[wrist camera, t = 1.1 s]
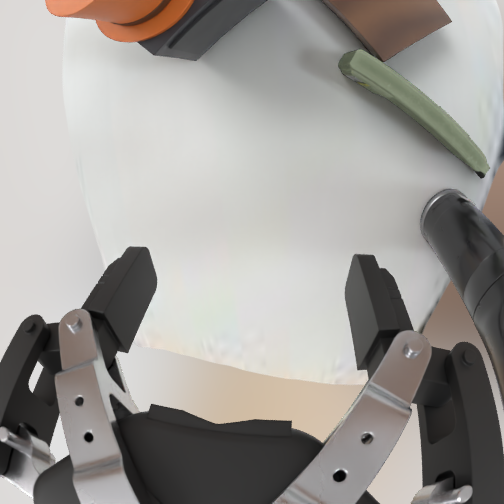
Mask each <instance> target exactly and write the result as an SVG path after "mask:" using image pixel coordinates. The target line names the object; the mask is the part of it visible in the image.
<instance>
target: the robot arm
mask: <svg viewBox="0 0 504 504" xmlns="http://www.w3.org/2000/svg"><path fill="white" fill-rule="evenodd" d="M471 202H472V201H471V200H470V199H468V198H467V197H466V196H465V195H464V194H463V193H461V192H460V191H458V190H454V189H448V190H444V191H442V192H440V193H438V194H436V195H435V196H434V197H433V198H432V199H431V200H430V201H429V202H428V203H427V205H426V207H425V208H424V211H423V213H422V217H421V231H422V234H423V236H424V238H425V239H426V241H427V242H428V243H429V244H430V246H431V247H432V249H433V250H434V252H435V254H436V255H437V257H438V258H439V260H440V262H441V263H442V265H443V266H444V268H445V270H446V271H447V273H448V275H449V277H450V278H451V280H452V282H453V284H454V285H455V287H456V289H457V291H458V292H459V294H460V296H461V298H462V300H463V302H464V304H465V306H466V308H467V309H468V311H469V313H470V316H471V318H472V320H473V322H474V324H475V326H476V329H477V330H478V333H479V334H480V337H481V339H482V341H483V343H484V345H485V348H486V350H487V352H488V355H489V358H490V360H491V363H492V366H493V370H494V373H495V376H496V380H497V384H498V388H499V392H500V396H501V401H502V405H503V410H504V235H503V234H502V233H501V232H500V231H499V230H498V229H497V228H496V227H495V225H493V223H492V222H490V220H489V219H488V218H487V217H486V216H485V215H484V214H483V213H482V212H481V211H480V210H479V209H478V208H477V207H476V206H475V205H476V204H475V203H473V202H472V203H471ZM474 204H475V205H474ZM156 288H157V276H156V272H155V269H154V266H153V262H152V259H151V256H150V252H149V250H148V248H147V247H128V248H127V249H126V251H125V252H124V254H123V255H122V257H121V258H118V259H117V260H115V261H114V262H113V263H112V264H110V265H109V266H108V268H107V269H106V271H105V272H104V274H103V276H102V277H101V278H100V280H99V281H98V284H96V286H95V287H94V289H93V290H92V292H91V293H90V295H89V297H88V298H87V300H86V301H85V303H84V304H83V306H82V308H81V309H75V310H73V311H70V312H69V313H67V314H66V315H65V316H64V317H63V318H62V320H61V321H60V322H59V323H51V324H46V323H45V321H44V320H43V319H42V317H41V316H40V315H31V316H29V317H28V318H26V319H25V320H24V321H23V322H22V323H21V325H20V327H19V328H18V330H17V332H16V334H15V336H14V337H13V339H12V341H11V343H10V345H9V346H8V349H7V350H6V352H5V354H4V356H3V358H2V360H1V362H0V477H2V478H5V479H7V480H8V481H9V482H11V483H12V484H13V485H14V486H16V487H17V488H18V489H20V490H21V491H23V492H24V493H25V494H27V495H28V496H30V497H31V498H33V500H34V504H380V503H379V502H378V501H376V500H375V498H374V497H373V496H372V495H371V494H369V492H368V491H367V490H366V489H367V488H368V486H369V485H370V484H371V482H372V481H373V479H374V478H375V476H376V475H377V473H378V472H379V470H380V469H381V467H382V466H383V464H384V463H385V461H386V460H387V458H388V456H389V455H390V453H391V451H392V450H393V448H394V446H395V445H396V443H397V441H398V439H399V438H400V436H401V434H402V432H403V430H404V428H405V426H406V424H407V423H408V420H409V418H410V416H411V413H412V409H410V405H411V403H415V404H417V409H418V417H419V427H420V437H421V451H422V475H423V488H422V489H421V490H419V491H418V493H417V494H416V495H415V497H414V498H413V501H412V502H411V504H504V454H503V446H502V438H501V432H500V425H499V420H498V415H497V410H496V405H495V401H494V397H493V393H492V389H491V385H490V381H489V378H488V374H487V371H486V368H485V364H484V361H483V358H482V356H481V353H480V352H479V350H478V349H477V348H476V347H475V346H474V345H472V344H471V343H468V342H460V343H458V344H456V345H455V347H454V348H453V349H452V350H451V351H449V350H445V349H440V348H435V347H432V346H431V345H430V343H429V341H428V340H427V338H426V337H425V336H423V335H422V334H421V333H419V332H417V331H414V330H413V327H412V324H411V321H410V318H409V315H408V313H407V310H406V307H405V305H404V302H403V299H401V294H400V292H399V290H398V287H397V284H396V282H395V279H394V277H393V276H392V275H391V274H390V273H389V272H388V271H387V270H386V269H385V268H379V266H378V264H377V261H376V259H375V256H374V255H364V254H354V256H353V258H352V262H351V266H350V270H349V274H348V278H347V282H346V286H345V300H346V306H347V311H348V316H349V321H350V327H351V332H352V338H353V344H354V350H355V356H356V363H357V370H367V372H368V378H369V380H368V381H367V383H366V384H365V386H364V388H363V389H362V391H361V392H360V393H359V395H358V396H357V398H356V400H355V401H354V402H353V404H352V405H351V407H350V408H349V410H348V411H347V412H346V414H345V415H344V417H343V418H342V419H341V420H340V422H339V423H338V425H337V426H336V427H335V428H334V430H333V431H332V432H331V433H330V434H329V436H328V437H327V438H326V439H325V441H324V442H323V443H322V442H321V441H319V440H318V439H316V438H315V437H313V436H311V435H309V434H307V433H305V432H303V431H300V430H297V429H293V428H291V425H292V424H291V423H292V421H277V420H257V419H254V420H248V421H241V422H233V423H226V424H225V423H224V424H215V423H212V422H209V421H207V420H204V419H202V418H199V417H197V416H195V415H192V414H190V413H188V412H185V411H183V410H178V409H173V408H168V407H163V406H159V405H154V404H151V406H150V409H149V411H147V412H139V410H138V408H137V406H136V405H135V403H134V402H133V400H132V398H131V395H130V393H129V390H128V387H127V384H126V382H125V378H124V375H123V372H122V369H121V366H120V363H119V360H118V358H117V356H116V353H117V351H120V352H125V353H128V352H129V349H130V347H131V344H132V342H133V340H134V338H135V335H136V333H137V331H138V328H139V326H140V324H141V322H142V319H143V317H144V315H145V313H146V310H147V308H148V306H149V304H150V302H151V300H152V297H153V295H154V293H155V291H156ZM37 361H38V362H40V364H41V365H42V366H43V367H44V368H43V370H42V372H41V374H40V377H39V379H38V382H37V384H36V386H35V389H34V391H33V393H32V392H31V391H30V389H29V385H28V383H29V379H30V376H31V374H32V372H33V370H34V367H35V365H36V363H37ZM59 414H60V416H61V421H62V425H63V430H64V434H65V438H66V442H67V446H68V449H69V453H70V454H69V455H68V456H67V457H65V458H63V459H62V460H60V461H59V462H57V463H56V464H55V457H54V456H53V455H52V454H51V453H50V449H49V447H50V443H51V440H52V436H53V433H54V429H55V426H56V423H57V420H58V417H59ZM50 466H51V467H50Z"/></svg>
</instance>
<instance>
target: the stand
mask: <svg viewBox="0 0 504 504" xmlns="http://www.w3.org/2000/svg"><path fill="white" fill-rule="evenodd" d="M321 1H322V2H323V3H324V4H325V5H327V6H328V7H329V8H330V9H331V10H332V11H333V12H334V13H335V14H336V15H337V16H338V17H339V18H340V19H341V20H342V21H343V22H344V23H345V24H346V25H347V26H348V28H349V29H350V30H351V31H352V32H353V33H354V34H355V35H356V36H357V37H358V39H359V40H360V41H361V42H362V43H363V44H364V46H365V47H366V48H367V49H368V50H369V51H370V53H371V54H372V55H373V56H376V57H377V59H378V60H380V61H381V62H385V61H386V60H388V59H389V58H391V57H392V56H394V55H396V54H397V53H399V52H400V51H402V50H404V49H405V48H407V47H409V46H410V45H412V44H413V43H415V42H417V41H419V40H420V39H422V38H424V37H425V36H427V35H429V34H431V33H432V32H434V31H436V30H438V29H440V28H441V27H443V26H445V25H447V24H449V23H451V22H452V21H451V19H450V18H449V16H448V15H447V14H446V12H445V11H444V10H443V8H442V7H441V6H440V4H439V3H438V2H437V0H321Z"/></svg>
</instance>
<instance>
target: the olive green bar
mask: <svg viewBox="0 0 504 504" xmlns="http://www.w3.org/2000/svg"><path fill="white" fill-rule="evenodd" d="M338 66H339V68H340V69H341V71H342V73H343V74H344V75H345V76H347V77H349V78H350V79H352V80H354V81H355V82H357V83H358V84H360V85H362V86H363V87H365V88H366V89H368V90H369V91H371V92H372V93H375V94H378V95H381V96H383V97H385V98H386V99H388V100H389V101H390V102H392V103H393V104H394V105H396V106H397V107H399V108H400V109H401V110H403V111H404V112H405V113H406V114H408V115H409V116H410V117H411V118H413V119H414V120H415V121H416V122H418V123H419V124H420V125H421V126H422V127H424V128H425V129H426V130H427V131H428V132H429V133H431V134H432V135H433V136H434V137H435V138H436V139H437V140H438V141H440V142H441V143H442V144H443V145H444V146H445V147H446V148H447V149H448V150H449V151H450V152H451V153H452V154H453V155H455V156H456V157H458V158H459V159H460V160H462V161H463V162H464V163H466V164H467V165H468V166H470V167H471V168H472V169H473V170H474V171H475V172H476V174H477V175H478V176H479V177H480V178H484V177H485V175H486V173H487V171H488V170H489V169H490V167H489V165H488V164H487V161H486V157H485V155H484V154H483V152H482V151H481V150H480V149H479V148H478V147H477V145H476V144H475V143H474V142H473V141H472V140H471V139H470V137H469V135H468V134H467V133H466V132H465V131H464V130H463V129H462V128H461V127H460V126H459V125H458V124H457V122H456V121H455V120H454V119H453V118H452V117H450V116H449V115H448V114H447V113H446V112H445V111H444V110H443V109H442V108H441V107H440V106H438V105H437V104H436V103H434V102H433V101H432V100H431V99H430V98H429V97H427V96H426V95H425V94H424V93H423V92H421V91H420V90H419V89H418V88H417V87H415V86H414V85H413V84H411V83H410V82H409V81H408V80H406V79H405V78H404V77H402V76H401V75H400V74H398V73H397V72H395V71H394V70H393V69H391V68H390V67H388V66H387V65H385V64H384V63H383V62H381V61H380V60H378V59H377V58H375V57H373V56H372V55H370V54H369V53H367V52H365V51H364V50H362V49H359V50H356V51H352V52H349V53H346V54H344V55H343V56H342V58H341V60H340V62H339V64H338Z"/></svg>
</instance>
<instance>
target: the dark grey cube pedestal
mask: <svg viewBox="0 0 504 504" xmlns="http://www.w3.org/2000/svg"><path fill="white" fill-rule="evenodd" d="M266 1H267V0H194V2H193V3H192V5H191V7H190V8H189V10H188V11H187V12H186V14H185V15H184V16H183V17H182V18H181V19H180V20H179V21H178V22H177V23H176V24H174V25H173V26H172V27H170V28H169V29H168V30H166V31H165V32H163V33H161V34H159V35H157V36H155V37H153V38H150V39H147V40H144V41H139V42H138V43H139V44H140V45H142V46H143V47H144V48H145V49H147V50H148V51H149V52H150V53H152V54H153V55H156V56H165V57H173V58H181V59H187V60H194V61H197V60H198V59H199V58H200V57H201V56H202V55H203V54H204V53H205V52H206V51H207V50H208V49H209V48H210V47H211V46H212V45H213V44H214V43H215V42H216V41H218V40H219V39H220V38H221V37H222V36H223V35H224V34H225V33H227V32H228V31H229V30H230V29H231V28H232V27H234V26H235V25H236V24H237V23H238V22H240V21H241V20H242V19H243V18H245V17H246V16H247V15H248V14H250V13H251V12H252V11H254V10H255V9H256V8H257V7H259V6H260V5H262V4H263V3H264V2H266Z"/></svg>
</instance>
